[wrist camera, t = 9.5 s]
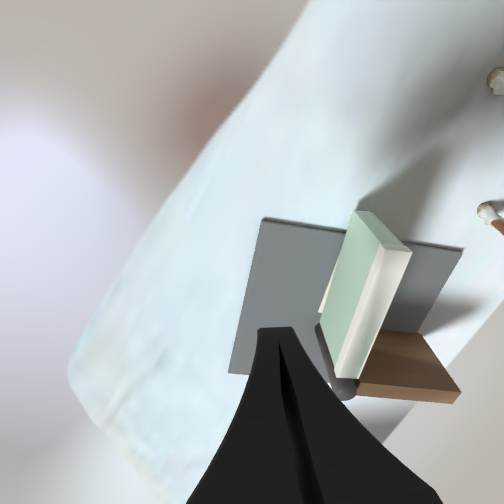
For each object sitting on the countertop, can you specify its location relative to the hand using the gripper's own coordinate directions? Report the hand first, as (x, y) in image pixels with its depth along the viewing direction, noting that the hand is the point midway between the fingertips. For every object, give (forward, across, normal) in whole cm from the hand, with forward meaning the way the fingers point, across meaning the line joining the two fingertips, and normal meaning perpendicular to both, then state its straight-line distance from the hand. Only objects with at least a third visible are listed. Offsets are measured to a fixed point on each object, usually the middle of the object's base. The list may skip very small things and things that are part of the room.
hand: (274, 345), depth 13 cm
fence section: (+9, -8, +9) cm, 15 cm away
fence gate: (+9, -6, +3) cm, 11 cm away
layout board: (+9, -6, +7) cm, 13 cm away
